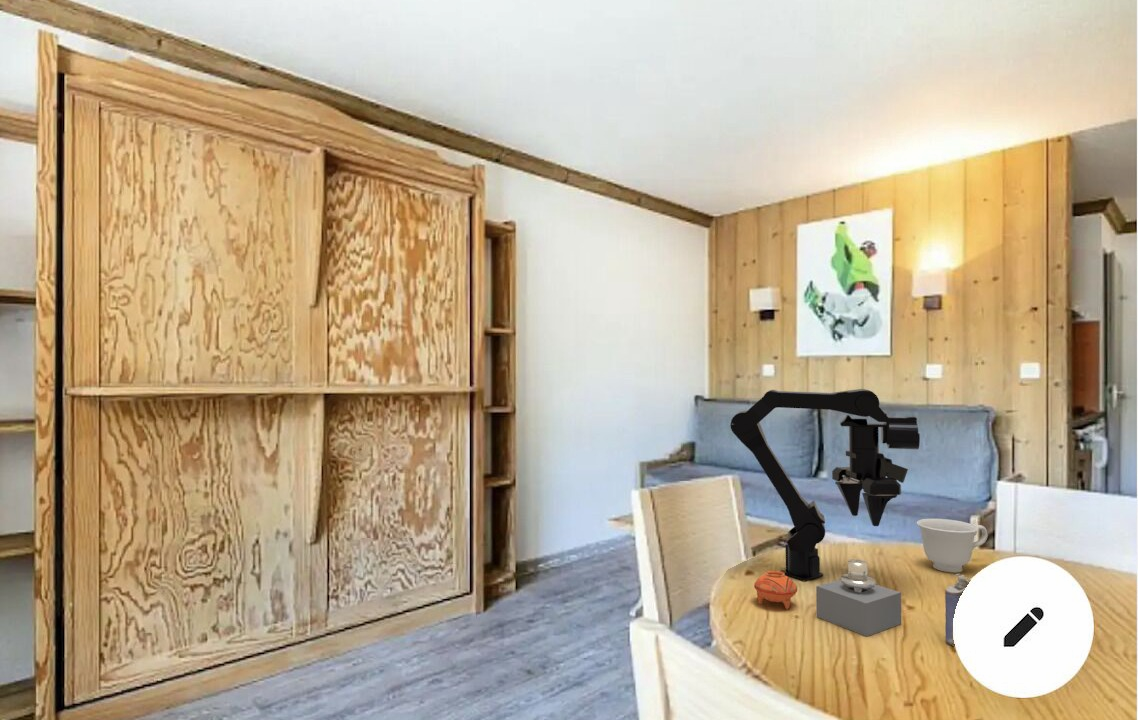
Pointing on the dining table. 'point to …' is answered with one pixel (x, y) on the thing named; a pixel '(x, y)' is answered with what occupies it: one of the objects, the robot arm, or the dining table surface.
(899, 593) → the box
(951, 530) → the teacup
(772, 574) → the pot
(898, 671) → the dining table surface
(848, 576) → the plunger
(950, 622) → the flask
